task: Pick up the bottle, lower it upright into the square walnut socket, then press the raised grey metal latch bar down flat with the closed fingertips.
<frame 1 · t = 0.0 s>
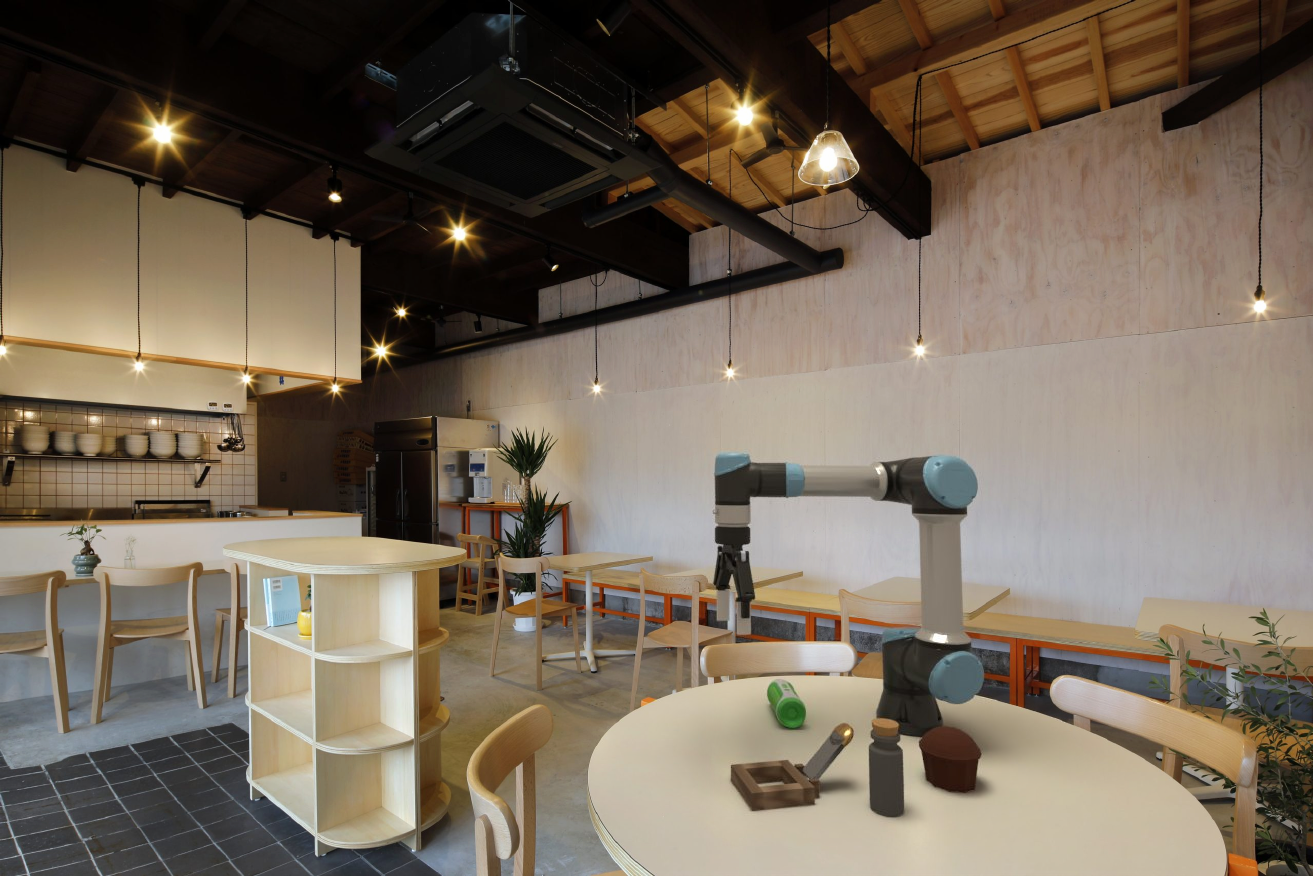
hand: (732, 627, 135), 28 cm above the table, fingers open, 13 cm apart
latch bar: (827, 753, 124), point 6 cm above the table, hinge at 45.0°
bottle: (886, 810, 115), on the table
muffin: (950, 783, 126), on the table
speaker: (785, 718, 161), on the table
socket block: (771, 792, 121), on the table
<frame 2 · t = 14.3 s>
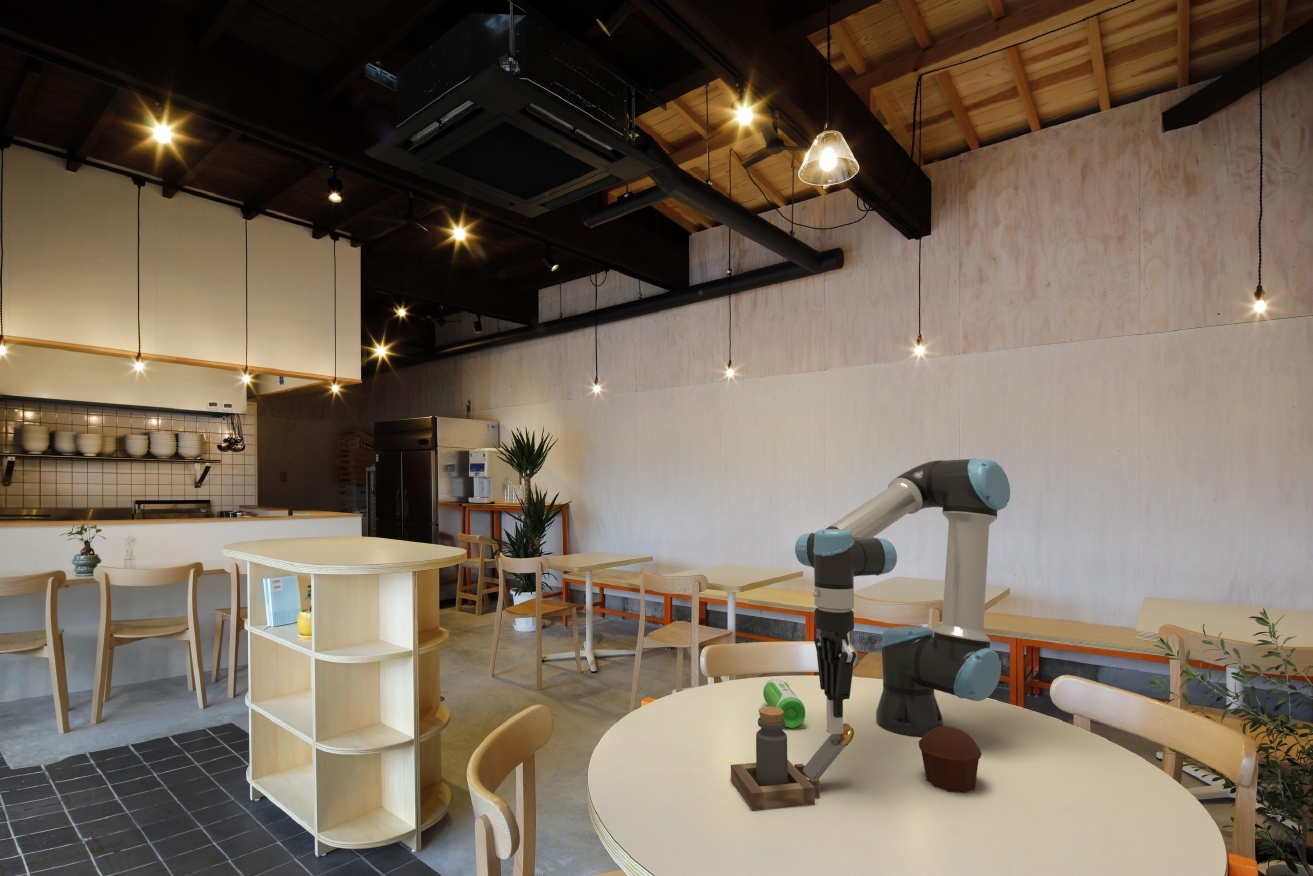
hand: (834, 732, 125), 10 cm above the table, fingers closed
latch bar: (827, 753, 124), point 6 cm above the table, hinge at 44.8°, touching gripper
bottle: (772, 793, 121), resting in socket block
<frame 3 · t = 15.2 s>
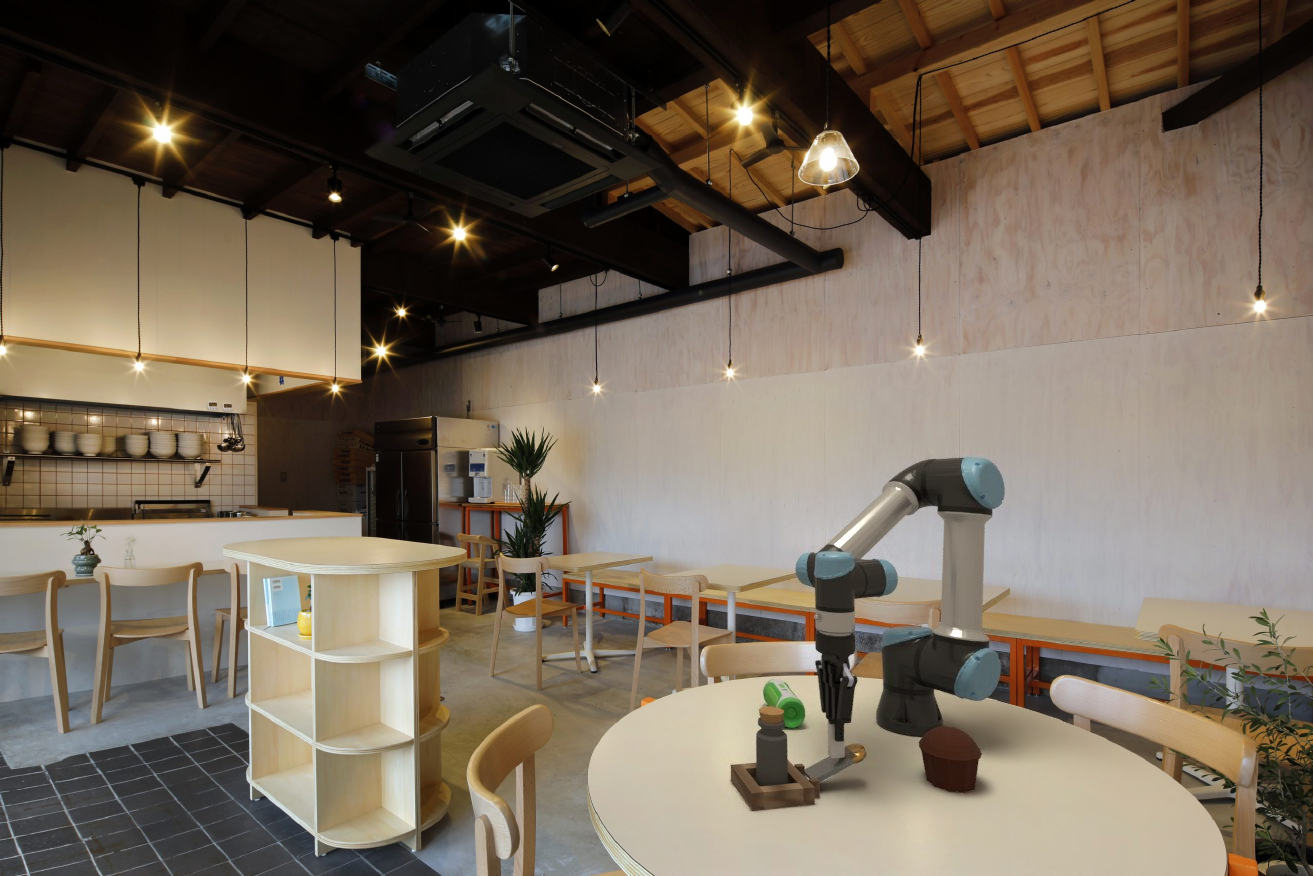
hand: (836, 756, 124), 6 cm above the table, fingers closed
latch bar: (834, 763, 124), point 4 cm above the table, hinge at 21.6°, touching gripper
everything else where it was.
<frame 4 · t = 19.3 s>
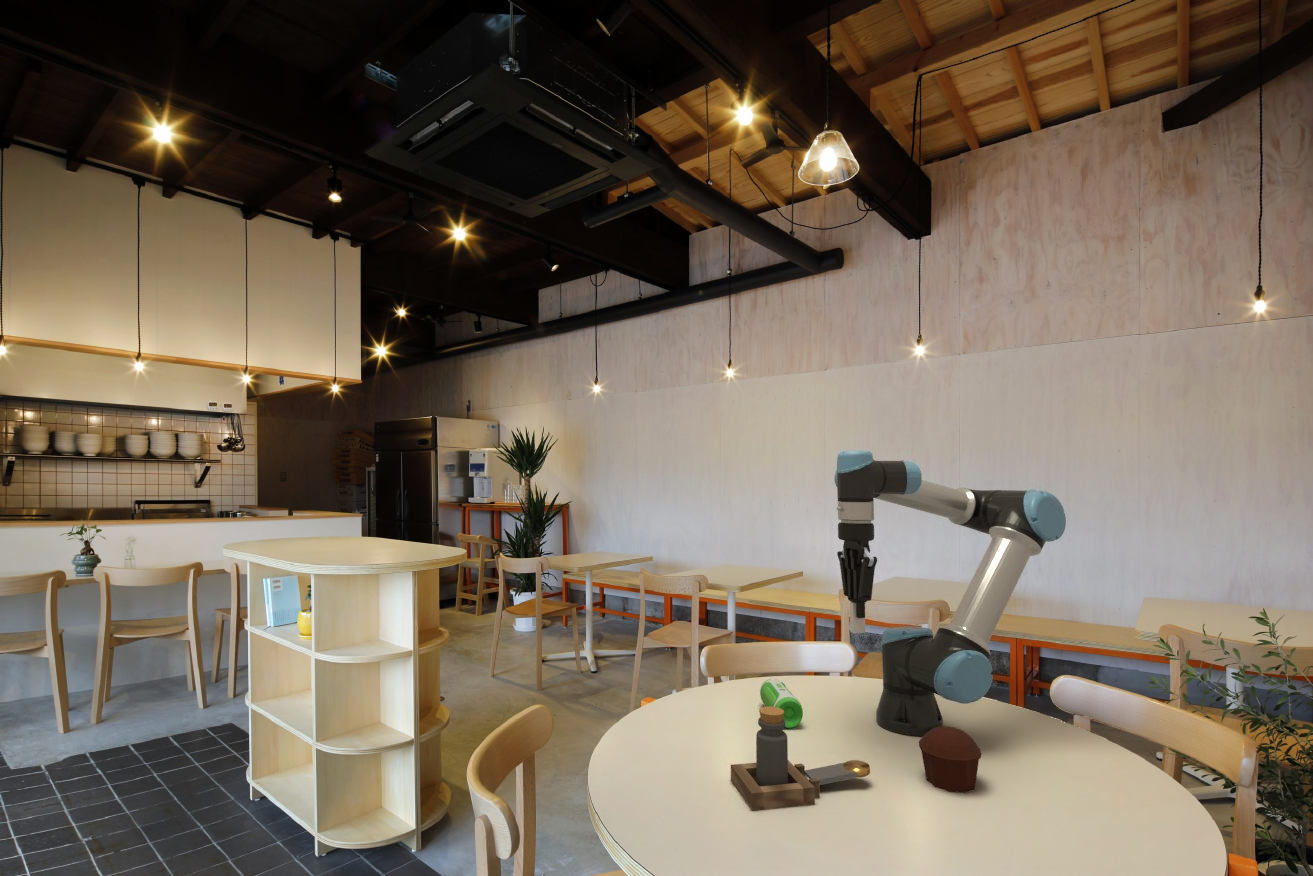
hand: (857, 632, 138), 26 cm above the table, fingers closed
latch bar: (836, 772, 124), point 2 cm above the table, hinge at 5.6°
at the end: bottle 0.2 cm off-centre on the socket block, point 0.0 cm above the socket block's base; bottle tilted 0°; latch bar at +6° (first picture: +45°) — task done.
